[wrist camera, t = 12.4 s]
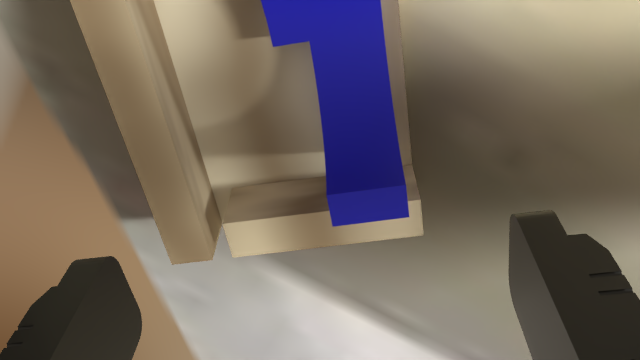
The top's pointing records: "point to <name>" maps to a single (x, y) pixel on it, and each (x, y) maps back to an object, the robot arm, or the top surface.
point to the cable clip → (349, 103)
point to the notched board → (230, 125)
